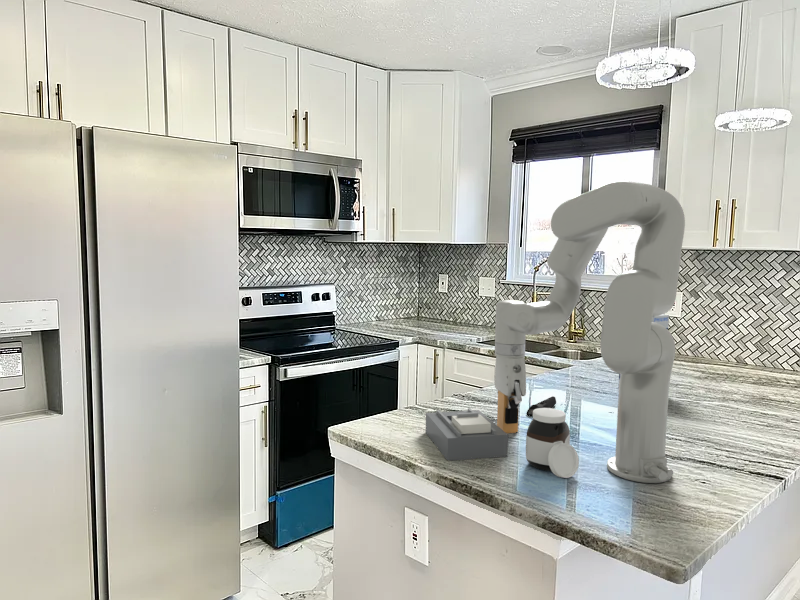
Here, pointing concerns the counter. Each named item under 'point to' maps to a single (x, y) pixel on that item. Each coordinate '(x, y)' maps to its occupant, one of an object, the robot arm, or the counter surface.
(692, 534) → the counter surface
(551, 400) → the electric trimmer
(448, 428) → the socket
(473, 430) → the shutter
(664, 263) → the robot arm
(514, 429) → the plug
